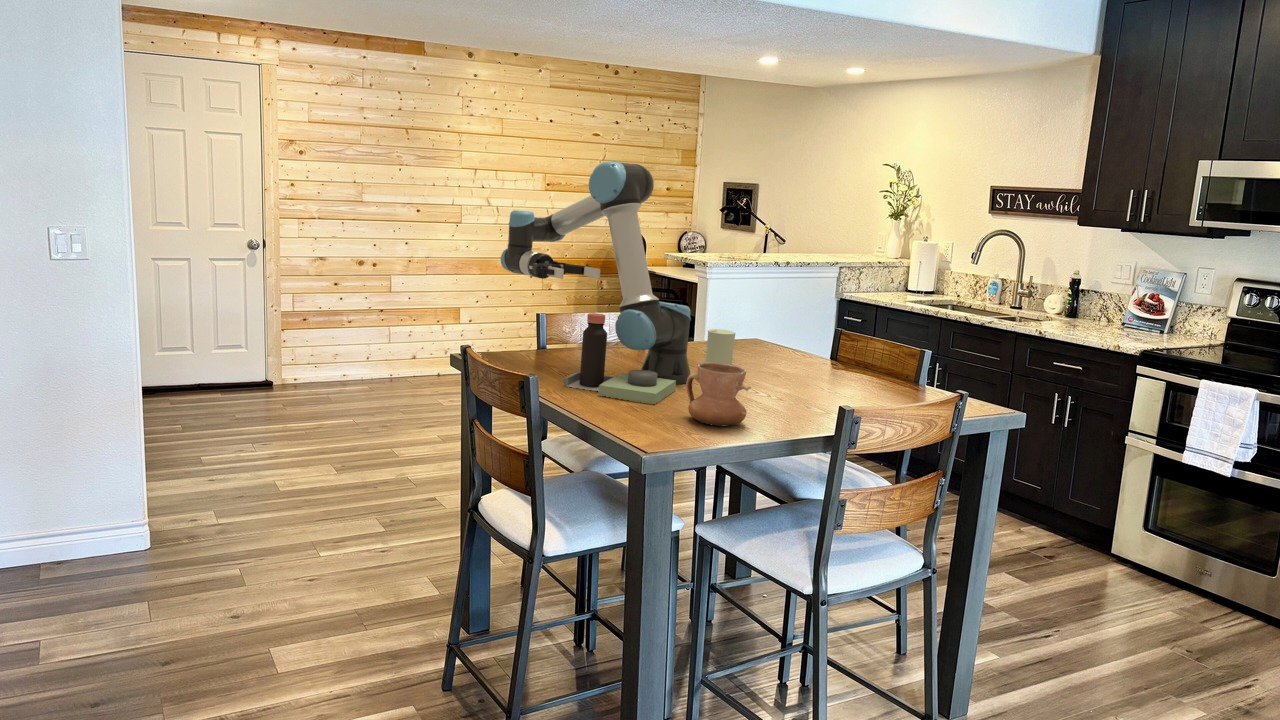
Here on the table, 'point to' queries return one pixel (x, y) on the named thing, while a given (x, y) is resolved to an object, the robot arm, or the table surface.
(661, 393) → the green slab with knob
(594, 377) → the vinegar
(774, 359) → the table surface
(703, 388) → the ceramic jug
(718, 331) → the can
